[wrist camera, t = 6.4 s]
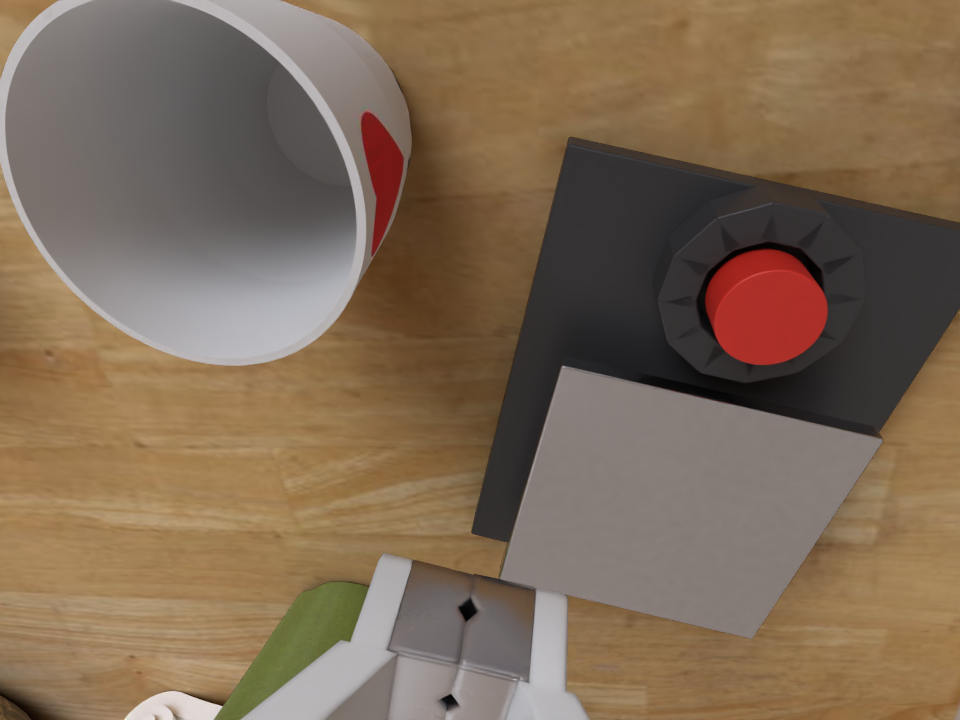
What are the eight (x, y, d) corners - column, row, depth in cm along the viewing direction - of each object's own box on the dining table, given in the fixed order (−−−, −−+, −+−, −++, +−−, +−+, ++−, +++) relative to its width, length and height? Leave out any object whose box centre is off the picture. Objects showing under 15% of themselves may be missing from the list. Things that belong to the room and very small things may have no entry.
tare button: (727, 237, 20) (738, 259, 19) (829, 260, 20) (848, 284, 18) (690, 326, 22) (698, 352, 20) (784, 348, 22) (799, 376, 20)
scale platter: (562, 353, 22) (561, 365, 22) (875, 425, 22) (885, 440, 22) (500, 565, 28) (498, 579, 28) (748, 624, 28) (752, 640, 27)
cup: (385, 267, 25) (282, 419, 17) (191, 150, 24) (-28, 250, 15) (495, 74, 21) (435, 145, 12) (269, -80, 20) (29, -119, 11)
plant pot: (480, 685, 38) (445, 926, 28) (296, 685, 41) (208, 905, 31) (432, 539, 32) (368, 778, 23) (222, 550, 35) (85, 768, 25)
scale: (569, 134, 22) (567, 156, 19) (986, 226, 21) (1041, 261, 19) (474, 515, 31) (464, 564, 29) (761, 583, 31) (777, 639, 28)
